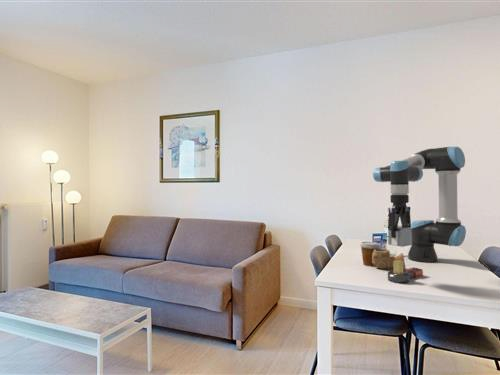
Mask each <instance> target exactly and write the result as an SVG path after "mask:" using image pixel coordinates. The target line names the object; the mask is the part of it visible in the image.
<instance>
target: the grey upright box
mask: <svg viewBox="0 0 500 375" xmlns="http://www.w3.org/2000/svg"><path fill="white" fill-rule="evenodd" d="M387 230H388V239H387V240H388V245H390V246H393V245H392V237H391V230H389V229H388V228H387ZM397 231H398V246H396V245H394V246H396V247H401V248H403V247H409V246H411V227H405V226H402V225H398V227H397Z"/></svg>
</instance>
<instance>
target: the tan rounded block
mask: <svg viewBox="0 0 500 375" xmlns="http://www.w3.org/2000/svg"><path fill="white" fill-rule="evenodd" d="M395 260H400V261H403V271H404V270H405V271H406V262H405V255H404V253H403V252H402V253H401V252H400V254H398V255H397V256H395V255H391V253H390V250H389V249H386V248H379V247H378V249H374V251H373V253H372V263H373V265H374V266H373V267H376V268H378V269H381V270H383V269H384V270H385V269H388V268H389V269H393V261H395Z"/></svg>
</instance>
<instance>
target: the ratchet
mask: <svg viewBox="0 0 500 375" xmlns="http://www.w3.org/2000/svg"><path fill="white" fill-rule="evenodd" d="M392 269H393V270H392V271H388V272H387V281H389V282H391V283H394V284H401V285H402V284H403V285H404V284H405V285H406V284H409V283H410V280H413V279H418V278H420V277H423V274H424V270H423V268H422V269H421V268H418V267H415V266H414V267H410V268H407V269H406V270H405V271H404V270H403V261H400V260H395V261H393V268H392Z"/></svg>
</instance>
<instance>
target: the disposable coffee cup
mask: <svg viewBox="0 0 500 375" xmlns="http://www.w3.org/2000/svg"><path fill="white" fill-rule="evenodd" d="M360 247H361V250H360V251H361V256H362V263H363V265H364V266H367V267H375V266H374V265H373V263H372V253H373V251H374V249H378V248H379V244H378V243H377V242H375V241H361V242H360Z"/></svg>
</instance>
